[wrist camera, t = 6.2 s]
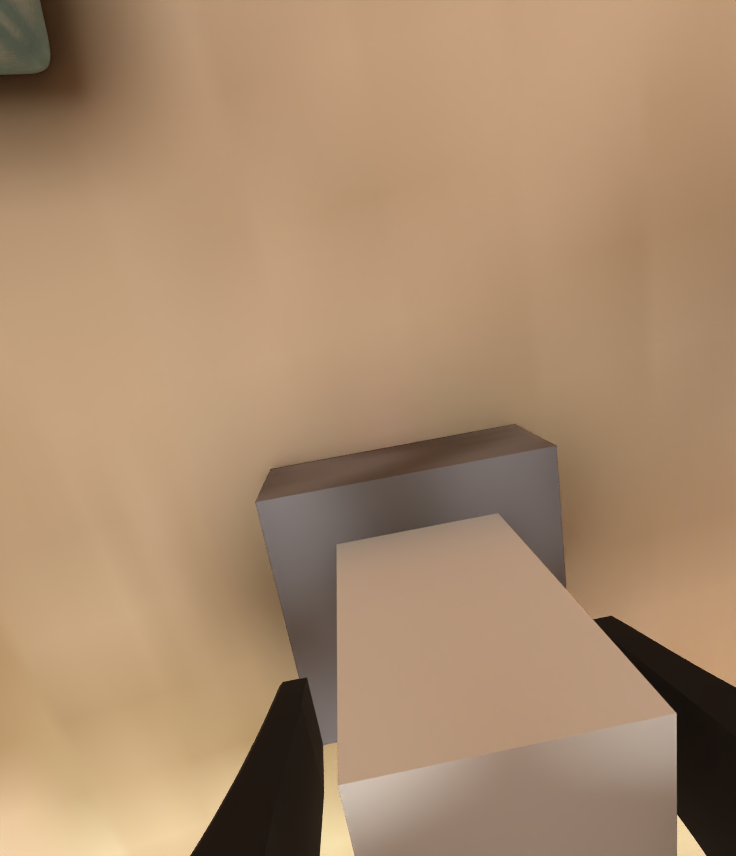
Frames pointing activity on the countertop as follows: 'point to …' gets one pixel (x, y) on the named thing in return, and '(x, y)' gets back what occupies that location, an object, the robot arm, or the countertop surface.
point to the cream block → (490, 707)
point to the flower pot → (23, 38)
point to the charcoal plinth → (395, 523)
